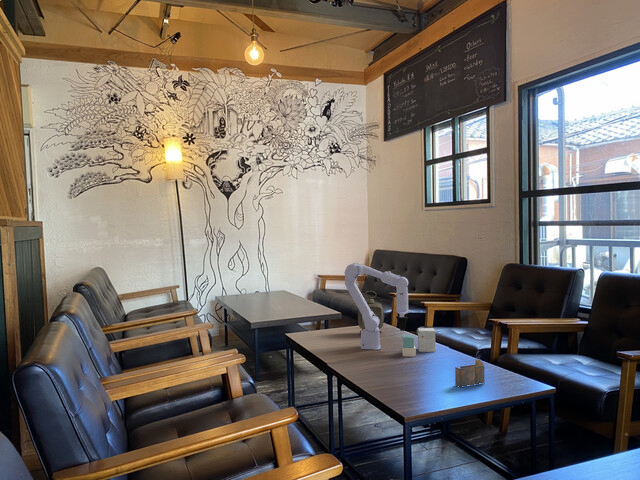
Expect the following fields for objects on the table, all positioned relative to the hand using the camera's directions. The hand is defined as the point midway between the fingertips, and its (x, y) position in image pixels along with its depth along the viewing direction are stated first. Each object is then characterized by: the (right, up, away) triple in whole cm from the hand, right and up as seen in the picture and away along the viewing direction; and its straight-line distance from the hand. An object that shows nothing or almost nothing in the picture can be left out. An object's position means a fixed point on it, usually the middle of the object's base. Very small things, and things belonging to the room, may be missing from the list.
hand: (402, 328), depth 225 cm
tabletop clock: (-12, -10, +32) cm, 36 cm away
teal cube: (+1, -7, -8) cm, 11 cm away
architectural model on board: (+17, -13, -50) cm, 54 cm away
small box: (+11, -11, -1) cm, 16 cm away
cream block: (+2, -11, -8) cm, 14 cm away
